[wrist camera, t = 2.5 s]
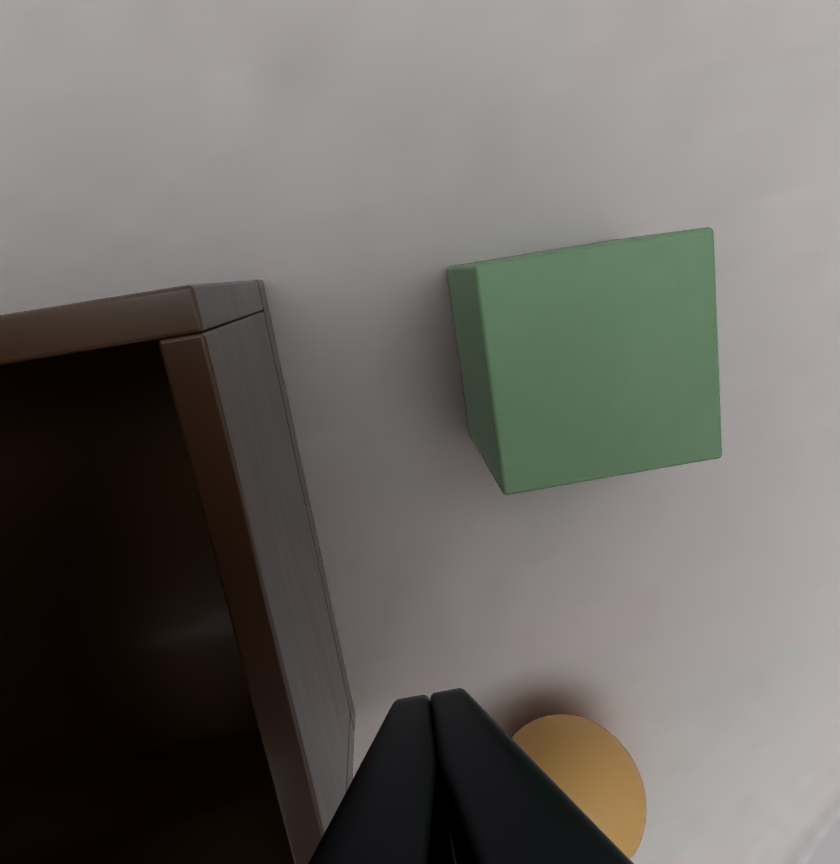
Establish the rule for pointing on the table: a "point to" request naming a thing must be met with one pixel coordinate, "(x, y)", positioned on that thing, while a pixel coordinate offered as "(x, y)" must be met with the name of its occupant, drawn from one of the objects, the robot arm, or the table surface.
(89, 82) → the table surface
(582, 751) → the figurine
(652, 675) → the table surface
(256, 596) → the box
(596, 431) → the block
